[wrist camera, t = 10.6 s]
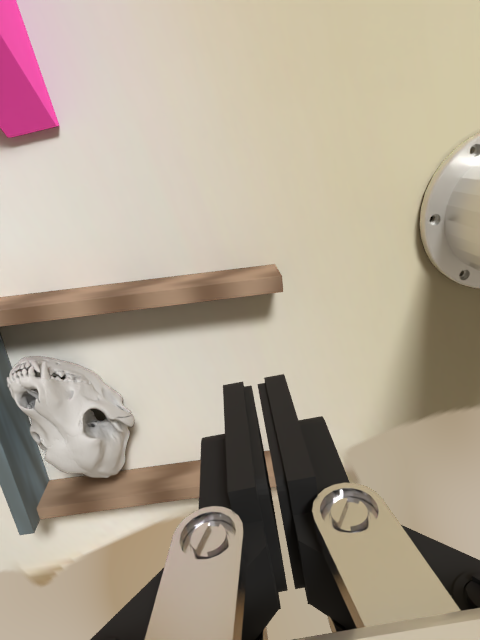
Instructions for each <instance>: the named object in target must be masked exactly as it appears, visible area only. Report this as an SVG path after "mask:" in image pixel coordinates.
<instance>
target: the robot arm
mask: <svg viewBox="0 0 480 640" xmlns="http://www.w3.org/2000/svg"><path fill="white" fill-rule="evenodd" d="M471 148H472V151H471V152H470V149H471ZM431 216H432V220H431V221H430V218H431ZM420 232H421V239H422V243H423V246H424V249H425V252H426V254H427V255H428V257H429V259H430V261H431V262H432V264H433V265H434V266H435V267H436V268H437V269H438V270H439V271H440V272H441V273H442V274H444V275H445V276H447V277H448V278H450V279H451V280H453V281H455V282H457V283H459V284H461V285H465V286H468V287H472V288H480V132H479V133H477V134H476V135H474V136H472V137H470V138H468V139H467V140H466V141H464V142H463V143H462V144H460V145H459V146H458V147H457V148H455V149H454V150H453V151H452V152H451V153H450V154H449V155H448V157H447V158H446V159H445V160H444V161H443V162H442V163H441V165H440V166H439V168H438V169H437V171H436V172H435V174H434V175H433V177H432V179H431V181H430V183H429V185H428V188H427V190H426V192H425V195H424V199H423V203H422V206H421V214H420ZM460 272H461V273H460ZM264 379H265V383H263V384H258V389H259V394H260V400H261V405H262V411H263V416H264V422H265V427H266V433H267V438H268V444H269V449H270V455H271V460H272V465H273V471H274V476H275V482H276V487H277V493H278V498H279V503H280V509H281V514H282V519H283V525H284V530H285V535H286V541H287V547H288V552H289V557H290V563H291V568H292V574H293V579H294V585H295V589H298V588H304V587H305V591H306V596H307V601H308V604H311V605H312V606H314V607H315V608H317V609H318V610H320V611H321V612H323V613H324V614H326V615H327V616H328V620H329V624H330V628H331V631H332V633H329V634H323V635H317V636H311V637H306V638H300V639H294V640H480V560H478V559H476V558H473V557H471V556H469V555H467V554H465V553H462V552H460V551H458V550H456V549H453V548H451V547H449V546H447V545H444V544H442V543H440V542H438V541H436V540H433V539H431V538H429V537H427V536H424V535H422V534H420V533H418V532H416V531H413V530H411V529H409V528H407V527H405V526H402V525H400V523H399V522H398V520H397V519H396V517H395V516H394V515H393V513H392V512H391V511H390V509H389V508H388V506H387V505H386V504H385V502H384V500H383V499H382V498H381V497H380V496H379V495H378V494H377V493H376V492H375V491H374V490H372V489H370V488H368V487H366V486H364V485H360V484H357V483H350V482H349V480H348V477H347V475H346V472H345V470H344V467H343V465H342V462H341V460H340V458H339V455H338V453H337V450H336V448H335V445H334V443H333V440H332V438H331V435H330V433H329V430H328V428H327V425H326V423H325V420H324V418H323V417H322V416H321V417H315V418H310V419H304V420H299V421H298V418H297V415H296V412H295V408H294V405H293V402H292V399H291V395H290V392H289V389H288V386H287V382H286V379H285V376H284V374H283V375H277V376H272V377H266V378H264ZM223 395H224V419H225V434H221V435H216V436H210V437H205V438H202V441H201V463H200V490H199V510H197V511H195V512H192V513H191V514H190V515H188V516H187V517H186V518H184V519H183V520H182V522H181V523H180V524H179V525H178V526H177V528H176V530H175V532H174V535H173V537H172V541H171V545H170V549H169V552H168V556H167V559H166V563H165V567H164V568H163V569H162V570H161V571H160V572H159V573H158V574H157V575H156V576H155V577H154V578H153V579H152V580H151V581H150V582H149V583H148V584H147V585H146V586H145V587H144V588H143V589H142V590H141V591H140V592H139V593H138V594H137V595H136V596H135V597H133V598H132V599H131V600H130V602H128V603H127V604H126V605H125V606H124V607H123V608H122V609H121V610H120V611H119V612H118V613H117V614H116V615H115V616H114V617H113V618H112V619H111V620H110V621H109V622H108V623H107V624H106V625H105V626H104V627H103V628H102V629H101V630H100V631H99V632H98V633H97V634H96V635H95V636H94V637H93V638H92V639H91V640H268V636H267V628H266V626H267V624H268V623H269V621H270V620H271V619H272V617H273V616H274V615H275V613H276V612H277V611H278V609H281V608H280V601H279V595H278V592H281V591H287V585H286V579H285V572H284V567H283V560H282V554H281V549H280V542H279V537H278V530H277V525H276V519H275V512H274V506H273V500H272V494H271V488H270V482H269V476H268V471H267V465H266V460H265V455H264V449H263V444H262V439H261V434H260V428H259V423H258V418H257V412H256V407H255V402H254V397H253V391H252V386H246V387H244V385H243V382H239V383H233V384H228V385H223Z"/></svg>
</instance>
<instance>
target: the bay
mask: <svg viewBox="0 0 480 640" xmlns="http://www.w3.org/2000/svg"><path fill="white" fill-rule="evenodd" d="M277 292H283V284H282V275H281V274H280V272H279V270H278V269H277V267H276V265H275V264H273V265H265V266H256V267H248V268H240V269H232V270H223V271H215V272H207V273H198V274H190V275H182V276H174V277H165V278H157V279H149V280H140V281H132V282H124V283H116V284H107V285H99V286H91V287H82V288H74V289H66V290H58V291H49V292H41V293H33V294H24V295H16V296H8V297H0V327H1V326H9V325H17V324H25V323H33V322H41V321H49V320H57V319H66V318H74V317H82V316H90V315H98V314H106V313H114V312H123V311H131V310H139V309H147V308H155V307H163V306H171V305H179V304H188V303H196V302H204V301H212V300H220V299H228V298H236V297H244V296H253V295H261V294H269V293H277ZM11 370H12V367H11V364H10V361H9V358H8V355H7V352H6V349H5V346H4V343H3V340H2V337H1V334H0V485H1V488H2V490H3V493H4V496H5V498H6V501H7V503H8V506H9V508H10V511H11V514H12V516H13V519H14V521H15V524H16V527H17V529H18V532H19V534H20V535H24V534H31V533H34V532H35V530H36V528H37V525H38V523H39V521H40V519H46V518H53V517H60V516H67V515H75V514H82V513H89V512H96V511H104V510H111V509H118V508H125V507H132V506H140V505H147V504H154V503H161V502H169V501H176V500H183V499H190V498H197V497H199V490H200V463H201V460H197V461H190V462H183V463H175V464H168V465H160V466H153V467H146V468H138V469H131V470H124V471H119V472H118V473H117V474H116V475H111V476H109V477H108V478H92V477H89V476H79V477H72V478H64V479H57V480H50V481H49V479H48V476H47V473H46V470H45V467H44V464H43V461H42V458H41V454H40V451H39V448H38V445H37V442H36V441H35V440H34V439H33V437H32V436H31V434H30V427H31V424H30V421H29V418H28V416H27V415H26V414H25V413H24V412H23V411H22V410H21V409H20V408H19V407H18V405H17V404H16V402H15V400H14V399H13V397H12V395H11V392H10V390H9V387H8V382H7V377H9V374H10V371H11ZM264 455H265V460H266V465H267V471H268V476H269V482H270V487H276V482H275V476H274V471H273V465H272V460H271V455H270V451H264Z"/></svg>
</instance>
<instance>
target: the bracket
mask: <svg viewBox="0 0 480 640" xmlns="http://www.w3.org/2000/svg"><path fill="white" fill-rule="evenodd" d="M57 126H59V123H58V120H57V117H56V115H55V112H54V109H53V106H52V103H51V100H50V97H49V94H48V91H47V89H46V86H45V83H44V80H43V77H42V74H41V71H40V68H39V66H38V63H37V60H36V57H35V54H34V51H33V48H32V45H31V43H30V40H29V37H28V34H27V31H26V28H25V25H24V22H23V20H22V17H21V14H20V11H19V8H18V5H17V2H16V0H0V128H1V129H2V131H3V132H4V133H5V135H6V136H7V137H16V136H20V135H24V134H28V133H32V132H36V131H40V130H45V129H49V128H53V127H57Z"/></svg>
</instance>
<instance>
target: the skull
mask: <svg viewBox="0 0 480 640" xmlns="http://www.w3.org/2000/svg"><path fill="white" fill-rule="evenodd" d="M52 374H57V375H58V376H56V378H54V377H53V376H52ZM59 376H60V377H61V378H62V377H65V379H64V380H63V379H61V378H59ZM7 382H8V387H9V390H10V392H11V395H12V397H13V399H14V400H15V402H16V404H17V405H18V407H19V408H20V409H21V410H22V411H23V412H24V413H25V414H26V415H27V416H29V417H30V418H31V422H32V423H31V424H32V425H31V427H30V434H31V436H32V437H33V439H34V440H35V441H36V442H37V444H38V445H39V446H40V448H41V449H42V450H44V451H46V455H45V458H44V459H45V460H46V461H47V462H48V463H50V464H52V465H53V466H54V467H56V468H57V469H59V470H60V471H62V472H65V473H82V474H84V475H86V476H89V477H92V478H108V477H109V476H111V475H116V474H117V473H118V472H119V471H120V470H121V469H122V467H123V465H124V463H125V450H126V446H127V442H128V439H129V436H130V431H129V429H128V426H129V427H132V426H133V425H134V416H133V415H132V414H131V411H130V410H129V409H127V408H126V407H125V406H124V405H123V404H122V403H123V398H122V396H121V395H120V394H119V393H118V392H116V391H115V390H113V389H112V388H110V387H109V386H108V385H106V384H105V383H104V382H103V380H102V379H101V378H100V376H99V375H98V374H96V373H95V372H93V371H91V370H89V369H86V368H84V367H82V366H80V365H77V364H74V363H71V362H67V361H62V360H58V359H54V358H49V357H41V356H29V357H24V358H22V359H21V360H20V361H19V362H18V363H17V364H15V365H14V367H13V369H12V370H11V371H10V374H9V377H7ZM89 409H98V410H100V411H102V412H103V413H104V414H105V416H106V418H105V419H104V420H103V421H101V420H100V421H101V422H100V421H98V420H97V419H96V417H95V415H94V412H93V411H91V410H89Z"/></svg>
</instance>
